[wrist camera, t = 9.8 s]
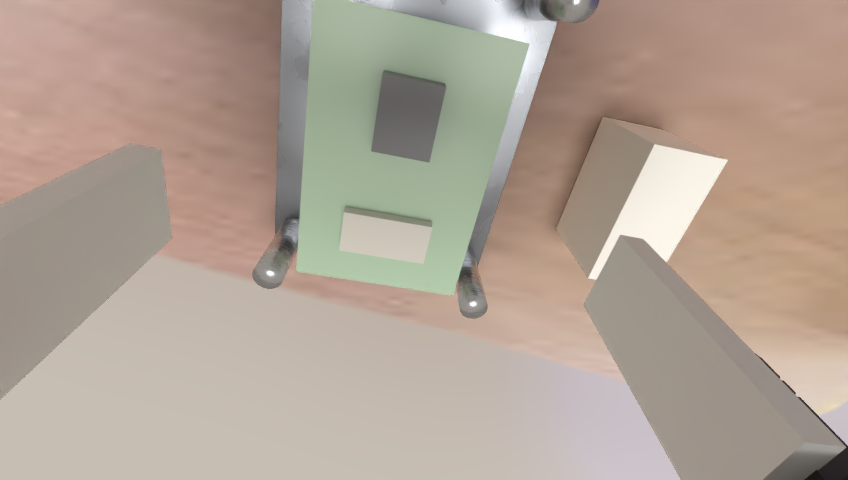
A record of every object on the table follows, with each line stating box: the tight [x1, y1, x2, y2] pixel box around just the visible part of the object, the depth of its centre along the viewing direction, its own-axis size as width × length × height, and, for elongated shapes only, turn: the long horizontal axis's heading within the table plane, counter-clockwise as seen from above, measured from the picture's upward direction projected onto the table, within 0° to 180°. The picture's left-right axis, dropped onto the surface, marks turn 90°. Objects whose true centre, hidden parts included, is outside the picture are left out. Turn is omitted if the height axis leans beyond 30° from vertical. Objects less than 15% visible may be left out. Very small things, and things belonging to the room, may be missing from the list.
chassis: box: [252, 0, 599, 318], centre depth 21 cm, size 18×14×7 cm
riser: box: [556, 117, 728, 280], centre depth 24 cm, size 8×4×6 cm, turn 168°
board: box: [296, 0, 529, 296], centre depth 18 cm, size 12×8×4 cm, turn 168°
